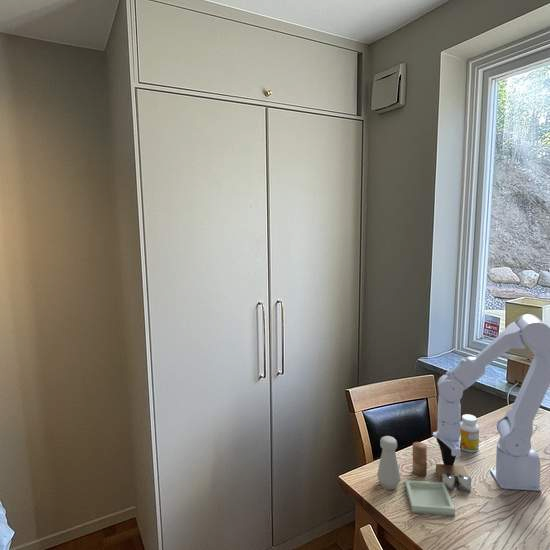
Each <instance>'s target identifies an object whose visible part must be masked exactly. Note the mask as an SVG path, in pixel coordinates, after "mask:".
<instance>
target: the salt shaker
mask: <svg viewBox="0 0 550 550" xmlns="http://www.w3.org/2000/svg"><path fill="white" fill-rule="evenodd" d="M379 441H380V442H379V443H380V444H379V445H380V446H379V447H380V448H381V454H380V460H379V463H378V464H379V465H378V469H377V474H376V475H377V480H378V483H379V484H380V486H381V487H382V488H383V489H385V490H390V491H393V490H395V489H396V488H397V487H398V486H399V484H400V482H401V475H400V470H399V466H398V460H397V459H398V458H397V454H396V450H397V449H398V441H397V439H395V437H393V436H390V435H384V436H382V437H381V438H380V440H379Z"/></svg>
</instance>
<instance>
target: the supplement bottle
mask: <svg viewBox="0 0 550 550" xmlns="http://www.w3.org/2000/svg"><path fill="white" fill-rule="evenodd" d="M460 435H461V442H460V445H461V450H462V451H464V452H468V453H476V452H477V451H478V450H479V445H480V427H479V425H478V419H477V417H476V416H475V415H473V414H469V413H467V414H466V413H465V414H463V415H462V416H461V421H460Z"/></svg>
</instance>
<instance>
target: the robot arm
mask: <svg viewBox="0 0 550 550" xmlns="http://www.w3.org/2000/svg"><path fill="white" fill-rule="evenodd" d="M524 344H526V345H527V346H528V347H529V348H530V350H531V352H532V354H533V355H534V356H533V359H532V361H531V363H530V366H529V368H528V371H527V373H526V375H525V377H524V380H523V382H522V384H521V386H520V388H519V391H518V393H517V395H516V397H515V399H514V402H513V404H512V407H511V409H508V410H506V413H505V414H504V416H503V417H502V418H500V419H499V420H498V421H497V423H496V430H497V433H498V434H499V438H498V441H497V443H496V454H495V455H496V461H495V464H496V465H495V468H494V467H490V468H489V471H490V473H491V475H492V476H493V478H494V479H495V481H496V483H497V484H498V485H499V487H500V488H501V489H505V490H506V489H507V490H522V491H536V492H537V491H539V492H541V491H542V488H541V487H540V486H541V485H540V484H541V458H540V456H539V454H538V452H537V450H536V449H534V448H532V442H531V439H532V436H533V433H534V431H533V430H534V428H533V427H534V424H533V423H534V420H535V417H536V415H537V413H538V411H539V409H540V407H541V404H542V402H543V400H544V398H545V396H546V395H547V391H548V389H549V387H550V326H548V325H547V324H545V323H544V322H543V321H542V320H541V318H539V317H538V316H536V315H535V314H530V313H526V314H523V315H521V316H519V317H517V319H516V320H515V321H513V322H511V323H509V324H508V325H507V326H506V327H505V328H504V329H503V330H502V332H500V333H499V334H497V336H496V337H495V338H494V339H493V340H492V341H491V342H490V343H488V345H486V346H485V347H484V348H483V349H482V350H481V351H480V352H479V353H477V354H476V356H467V357H466V358H460V359H459V361H458V362H459V363H458V364H457V365H456V366H455V367H454V368H452V370H450V371H449V370H448V371H446V372H445V374H443V375H441V376H440V377H439V378H438V381H437V382H436V383H437V384H436V385H437V388H438V389H437V390H438V391H437V392H438V397H437V399H438V401H437V430H436V431H434V432H432V436H433V438H435V439H436V441H437V444H438V446H439V449H440V454H441V458H442V460H441V461H442V464H446V465H455V461H456V459H457V457H461V450H462V449H461V445H460V442H461V435H460V422H461V420H462V416H461V411H462V408H461V406H462V405H461V399H462V397H463V395H464V393H463V392H464V391H465V390H467V389H468V388H470V387H471V386H472V385H474V384H475V383H476V382H477V381H478V380H480V379H481V378H483V376H485V375H486V367H487V366H488V365H490V364H491V363H493V362H494V361H495V360H497V359H498V358H500V357H501V356H503V355H504V354H505V353H507V352H508V351H509V350H510V349H521V350H522V349H526V346H525V345H524Z"/></svg>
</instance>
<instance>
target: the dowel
mask: <svg viewBox="0 0 550 550" xmlns="http://www.w3.org/2000/svg"><path fill="white" fill-rule="evenodd" d="M427 447H428V446H427V445H426V444H425V443H423V442H421V441H415V442H413V443H412V474H413V475H414V476H416V477H419V478H424V477H426V476H427V470H428V469H427V464H428V462H427V460H428V459H427V457H428V456H427V454H428V449H427Z"/></svg>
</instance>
